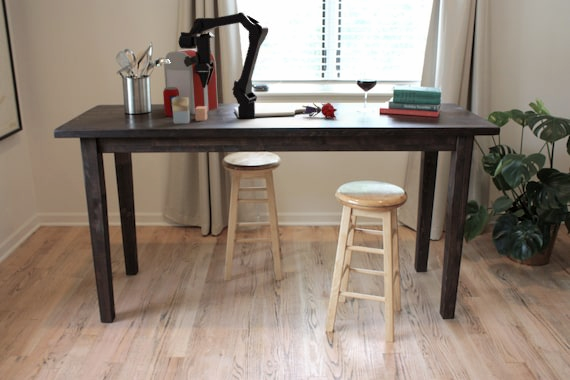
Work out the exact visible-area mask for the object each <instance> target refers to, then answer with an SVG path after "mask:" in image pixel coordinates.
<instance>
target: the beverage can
mask: <svg viewBox="0 0 570 380" xmlns="http://www.w3.org/2000/svg"><path fill="white" fill-rule="evenodd" d="M162 93H163V94H162V97H163V111H164V115H165V116H167V117H169V118H173V108H172V98H174V97H179V91H178V89H177V87H167V88H166V87H164V89H163V92H162Z"/></svg>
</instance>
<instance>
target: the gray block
mask: <svg viewBox="0 0 570 380" xmlns="http://www.w3.org/2000/svg"><path fill="white" fill-rule="evenodd" d="M172 119H173V124H189V123H190V122H191V114H190V111H189V110H188V111H173V117H172Z"/></svg>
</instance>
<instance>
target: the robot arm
mask: <svg viewBox="0 0 570 380" xmlns="http://www.w3.org/2000/svg"><path fill="white" fill-rule="evenodd" d="M235 24H241V25H242V27H243V28H244V29H245V30H246V31H248V48H247V51H246V55H245V60H244V63H243V66H242V70H241V75H240V78H239V79H235V80H234V82H233V87H232V89H231V90H232V94H233V97H234V98H235V100H236V102H237V104H238V107H237V110H238V111H237V115H238V118H239V119H256V116H255V115H256V104H255V103H256V101H257V99H258V96H257V95H256V94H255V93H254V92H253V83H252V82H253V80H252V79H253V75H254V71H255V67H256V64H257V60H258V55H259V52H260V49H261V46H262V45H263V43H264V42H265V40H266V37H267V36H268V34H269V28H268V26H267V24H266V23H264V22H260V21H259V20H258V19H256V18H254V17H252V16H251V15H250V14H248V13H247V12H245V11H244V12H243V11H241V12H238V13H234V14H227V15H224V16H219V17H198V18H195V19H194V21H193V26H192V27H191V29H190V31H189V32H186V31H181V32H180V36H179V37H178V45H179V48H180V49H181V50H186V49H196V48H197V52H196V55H195V56H192V57H190V56H187V57H185V60H184V64H185V65H186V67H188V66H190V65H192V64H195V63H196V65H195V66H194V71H195V73H197V74H198V75H199V77H200V80H201V84H202V87H203V88H205V87H206V85H209V82H210V79H211V76H212V73H213V70H214V68H211V67H215V62H216V61H215V62H214V61H213V60H211V53H212V50H211V39H213V38H215V37H216V36H215V35H214V34H213V33H212V30H214V29H216V28H219V27H225V26H230V25H235ZM212 54H213V53H212Z"/></svg>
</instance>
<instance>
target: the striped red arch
mask: <svg viewBox="0 0 570 380" xmlns="http://www.w3.org/2000/svg"><path fill="white" fill-rule="evenodd" d="M196 52H197V47H195V48H194V49H177V50H176V49H175V50H174V51H169V52H167V53H166V55H165V57H164V60H165V59H169V60H170V62H171V63H170V64H164V63H163V68H164V69H163V70H164V72H163V73H164V84H165V87H164V88H167V87H177V89H178V91H179V97H189V111H190V115H195V108H196V107H197V106H207V112H208V111H212V110H213V111H214V110H216V109H218V108H219V107H218V106H219V103H218V85H217V83H218V82H217V63H216V59H215V56H214V54H213V53H211V60H213V61H214V62H215V67H211V68H214V70H213V73H212V76H211V79H210V82H209V85H206V87H205V88H203V87H202V84H201V80H200V77H199V75H198V74H197V73H195V71H194V66H195V65H196V63H195V64H192V65H190V66H188V67H186V65H185V64H184V60H185V57H187V56H190V57H192V56H195V55H196Z"/></svg>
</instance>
